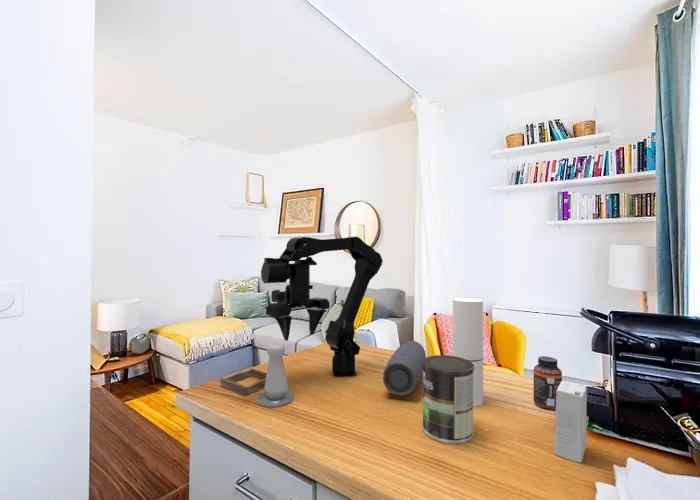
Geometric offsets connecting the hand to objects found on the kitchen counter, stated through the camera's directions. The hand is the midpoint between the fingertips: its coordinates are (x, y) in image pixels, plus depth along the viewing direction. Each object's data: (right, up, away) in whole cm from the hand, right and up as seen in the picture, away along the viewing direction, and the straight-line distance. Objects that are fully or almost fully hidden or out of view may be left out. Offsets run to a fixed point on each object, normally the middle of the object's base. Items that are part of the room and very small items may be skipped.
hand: (299, 337), depth 96 cm
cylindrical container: (+44, -13, -11) cm, 47 cm away
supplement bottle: (+62, -13, -14) cm, 65 cm away
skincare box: (+55, -13, -33) cm, 65 cm away
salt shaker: (-4, -13, -10) cm, 17 cm away
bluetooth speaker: (+30, -13, 0) cm, 33 cm away
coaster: (-4, -13, -10) cm, 17 cm away
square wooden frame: (-14, -13, -1) cm, 19 cm away
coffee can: (+35, -13, -25) cm, 45 cm away
